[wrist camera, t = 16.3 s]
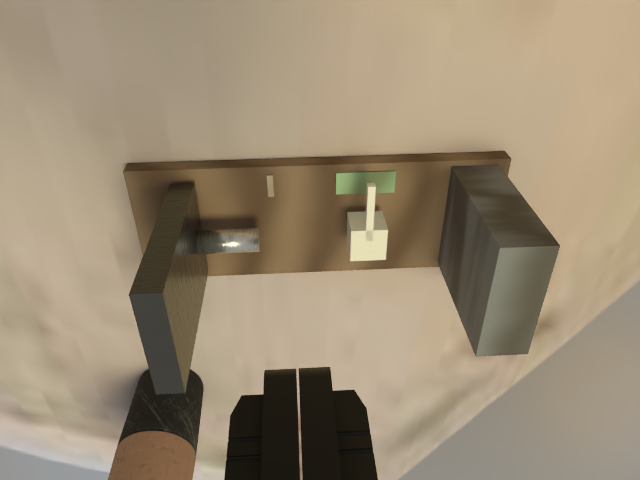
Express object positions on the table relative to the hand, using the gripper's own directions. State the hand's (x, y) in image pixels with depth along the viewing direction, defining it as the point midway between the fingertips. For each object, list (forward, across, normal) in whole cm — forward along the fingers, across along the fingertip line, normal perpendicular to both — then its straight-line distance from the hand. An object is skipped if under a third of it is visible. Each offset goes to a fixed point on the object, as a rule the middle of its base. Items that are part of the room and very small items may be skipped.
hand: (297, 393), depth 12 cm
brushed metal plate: (+31, +6, +15) cm, 35 cm away
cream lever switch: (+30, -6, +13) cm, 34 cm away
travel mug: (+33, +14, +37) cm, 52 cm away
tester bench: (+33, -2, +15) cm, 36 cm away
